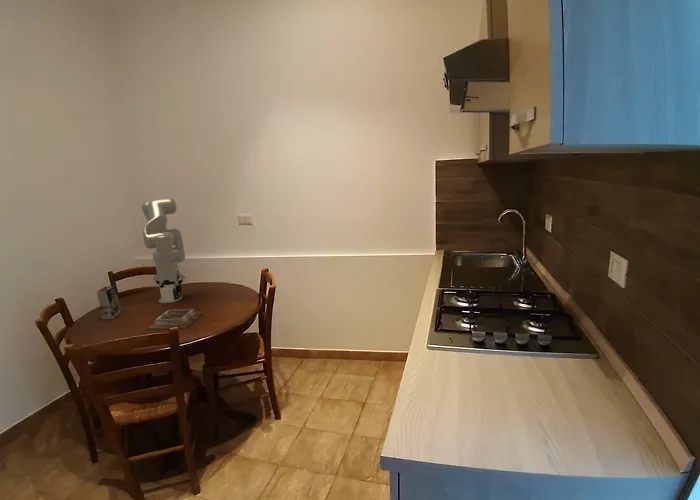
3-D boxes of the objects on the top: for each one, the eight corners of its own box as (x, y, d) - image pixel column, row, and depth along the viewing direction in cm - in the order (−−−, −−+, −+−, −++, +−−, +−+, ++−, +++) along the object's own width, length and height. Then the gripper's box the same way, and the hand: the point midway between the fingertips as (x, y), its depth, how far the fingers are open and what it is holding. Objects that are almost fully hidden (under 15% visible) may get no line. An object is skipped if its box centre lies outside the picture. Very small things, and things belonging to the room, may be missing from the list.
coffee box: (113, 318, 237) (108, 290, 233) (101, 319, 236) (95, 291, 233) (121, 312, 246) (115, 285, 242) (109, 313, 245) (104, 286, 242)
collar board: (167, 315, 237) (166, 308, 236) (202, 313, 235) (201, 307, 234) (147, 329, 218) (146, 322, 217) (185, 328, 216) (184, 321, 215)
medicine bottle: (174, 302, 219) (171, 279, 217) (162, 302, 221) (158, 279, 218) (182, 297, 226) (179, 275, 223) (170, 297, 228) (166, 275, 225)
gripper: (145, 261, 216) (151, 295, 220) (179, 260, 214) (184, 294, 218) (153, 258, 223) (159, 290, 227) (185, 256, 222) (191, 289, 225)
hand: (171, 292), depth 223 cm, fingers closed on medicine bottle, 7 cm apart
